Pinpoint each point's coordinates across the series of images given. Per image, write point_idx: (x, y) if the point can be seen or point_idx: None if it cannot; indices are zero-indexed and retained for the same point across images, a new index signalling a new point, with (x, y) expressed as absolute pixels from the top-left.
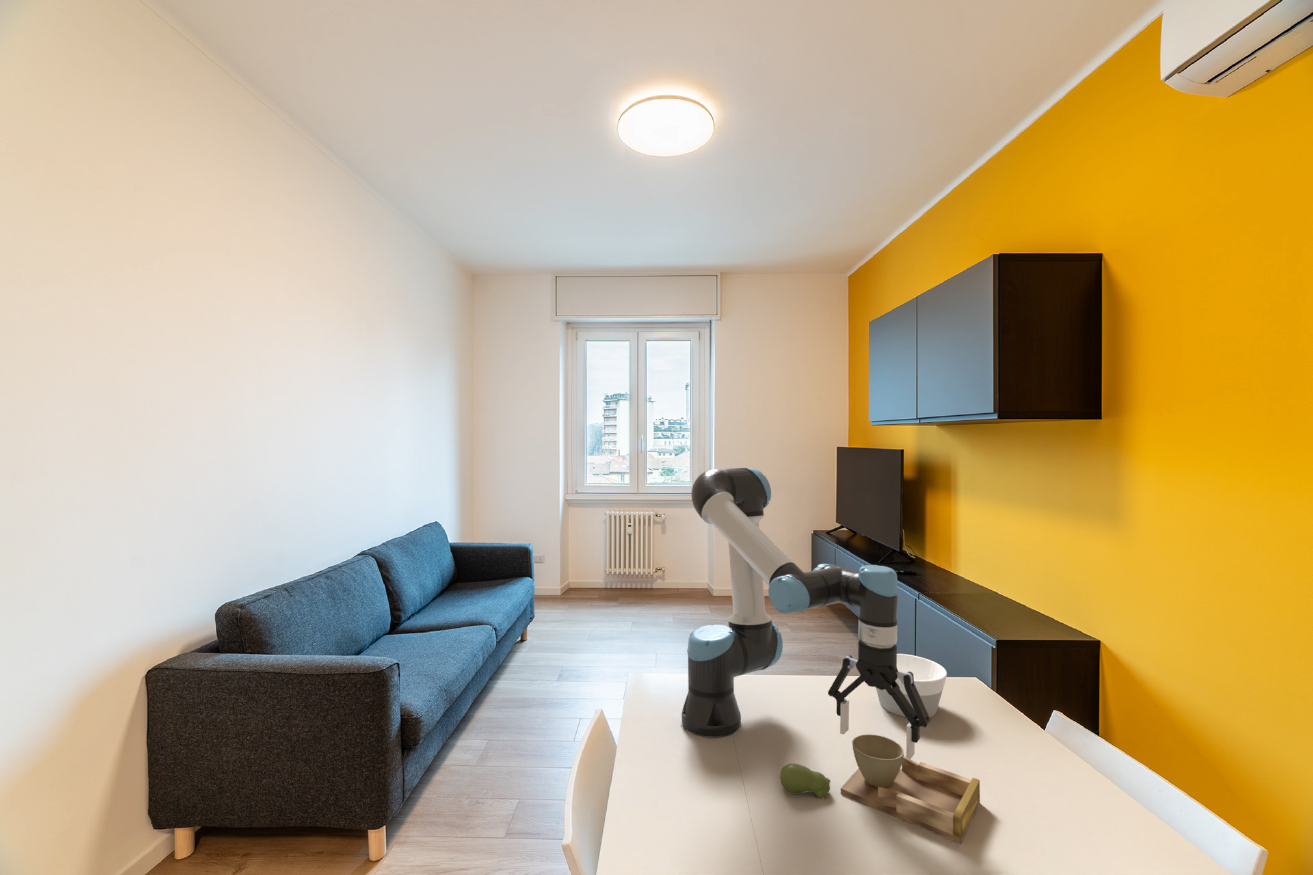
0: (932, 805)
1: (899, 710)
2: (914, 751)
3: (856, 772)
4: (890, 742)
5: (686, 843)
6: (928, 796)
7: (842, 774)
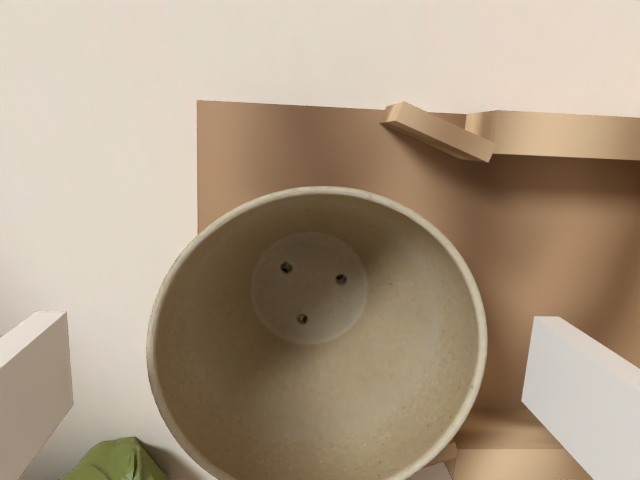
0: None
1: None
2: (567, 323)
3: None
4: (363, 200)
5: None
6: (521, 261)
7: (148, 293)
